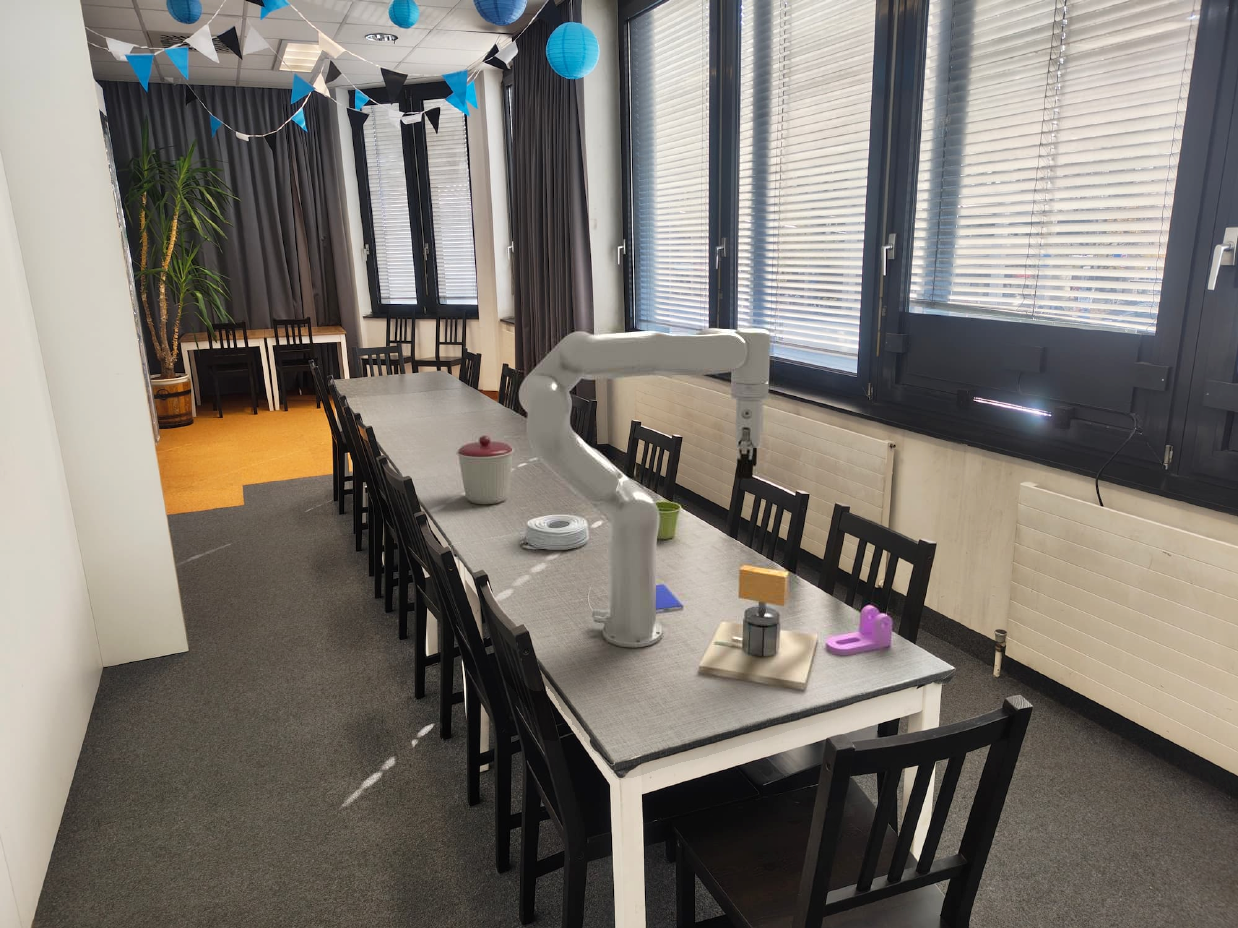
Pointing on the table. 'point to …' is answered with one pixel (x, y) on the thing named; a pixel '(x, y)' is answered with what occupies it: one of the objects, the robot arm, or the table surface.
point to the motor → (762, 609)
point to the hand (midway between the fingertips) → (746, 471)
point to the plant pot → (667, 519)
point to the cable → (556, 532)
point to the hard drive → (666, 600)
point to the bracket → (864, 634)
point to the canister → (486, 470)
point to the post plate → (760, 658)
